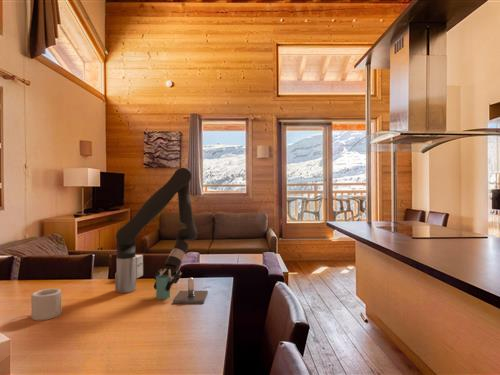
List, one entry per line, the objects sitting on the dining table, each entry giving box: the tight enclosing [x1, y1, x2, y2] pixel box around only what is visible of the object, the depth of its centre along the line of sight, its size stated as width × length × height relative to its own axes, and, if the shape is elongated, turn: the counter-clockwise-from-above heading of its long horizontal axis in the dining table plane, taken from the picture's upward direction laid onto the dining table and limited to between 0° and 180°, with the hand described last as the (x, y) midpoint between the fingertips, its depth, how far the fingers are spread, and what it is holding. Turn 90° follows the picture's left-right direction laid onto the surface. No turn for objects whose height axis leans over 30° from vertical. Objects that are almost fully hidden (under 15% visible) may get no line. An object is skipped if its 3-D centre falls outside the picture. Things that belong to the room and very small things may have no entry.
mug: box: [30, 288, 63, 321], centre depth 140 cm, size 14×11×10 cm
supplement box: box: [136, 254, 144, 280], centre depth 199 cm, size 7×7×13 cm
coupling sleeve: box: [155, 275, 171, 300], centre depth 161 cm, size 6×6×10 cm
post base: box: [172, 277, 209, 305], centre depth 159 cm, size 14×14×10 cm
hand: (160, 289), depth 160 cm, fingers closed on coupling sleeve, 6 cm apart
